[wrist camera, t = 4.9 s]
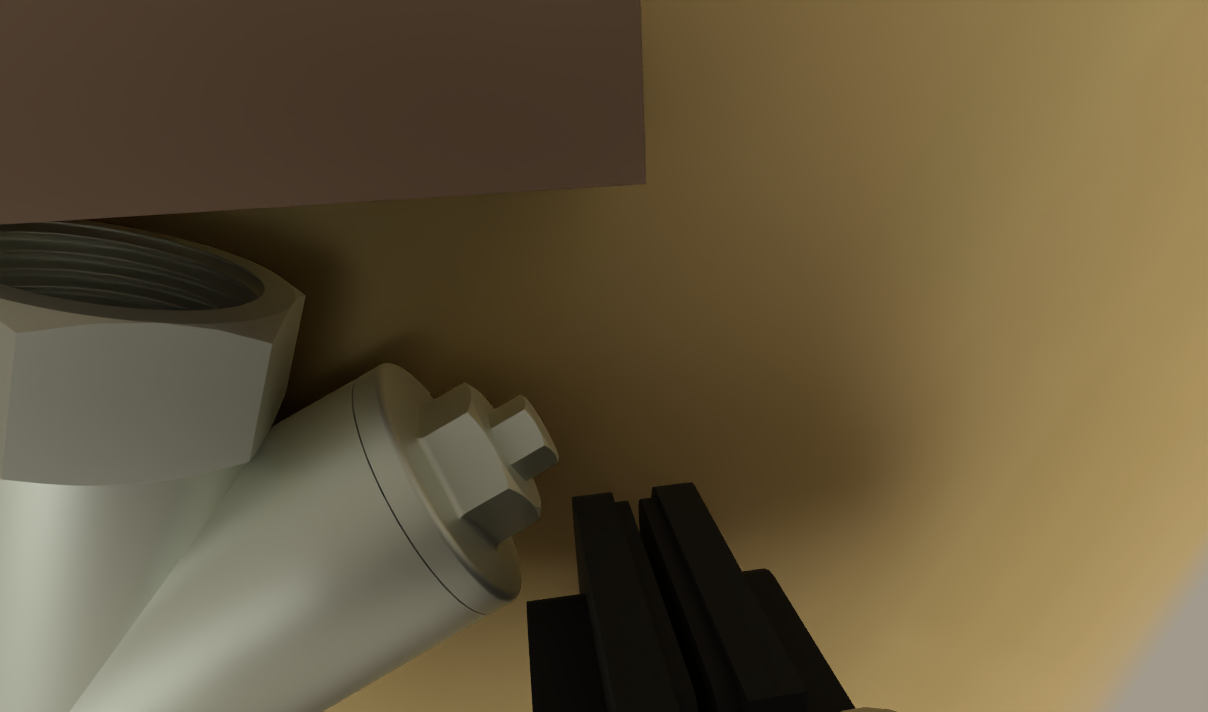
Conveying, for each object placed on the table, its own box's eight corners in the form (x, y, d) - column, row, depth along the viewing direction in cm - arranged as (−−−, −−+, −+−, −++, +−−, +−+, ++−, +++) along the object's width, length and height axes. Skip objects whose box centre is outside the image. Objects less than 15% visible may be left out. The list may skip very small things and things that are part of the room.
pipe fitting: (559, 325, 11) (26, 195, 9) (621, 436, 7) (-260, 258, 5) (431, 752, 13) (-26, 724, 11) (429, 1008, 9) (-258, 1036, 7)
